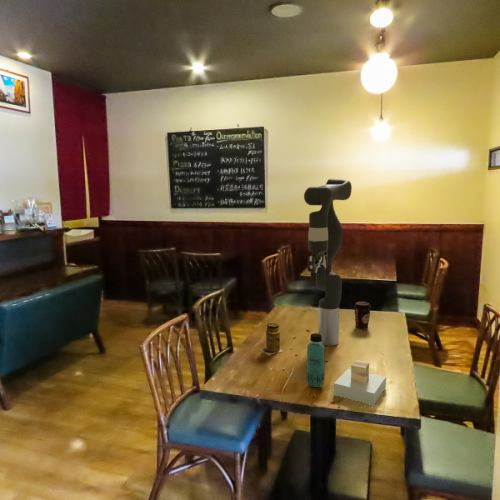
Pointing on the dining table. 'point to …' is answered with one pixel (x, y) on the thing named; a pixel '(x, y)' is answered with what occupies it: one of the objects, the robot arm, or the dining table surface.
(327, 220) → the robot arm
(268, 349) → the condiment
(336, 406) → the dining table surface
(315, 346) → the beverage bottle
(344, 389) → the base block
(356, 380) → the maple block
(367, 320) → the coffee cup
